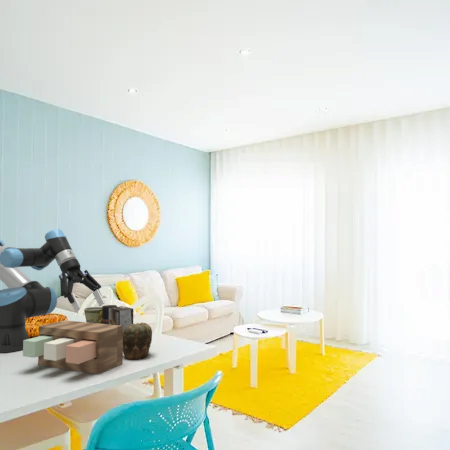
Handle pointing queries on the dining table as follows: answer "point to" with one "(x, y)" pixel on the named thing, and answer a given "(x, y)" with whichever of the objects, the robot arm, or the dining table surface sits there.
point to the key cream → (57, 348)
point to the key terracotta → (81, 351)
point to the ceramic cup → (93, 315)
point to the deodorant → (106, 313)
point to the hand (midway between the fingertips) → (90, 307)
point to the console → (103, 333)
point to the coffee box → (121, 316)
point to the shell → (137, 341)
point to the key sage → (35, 345)
